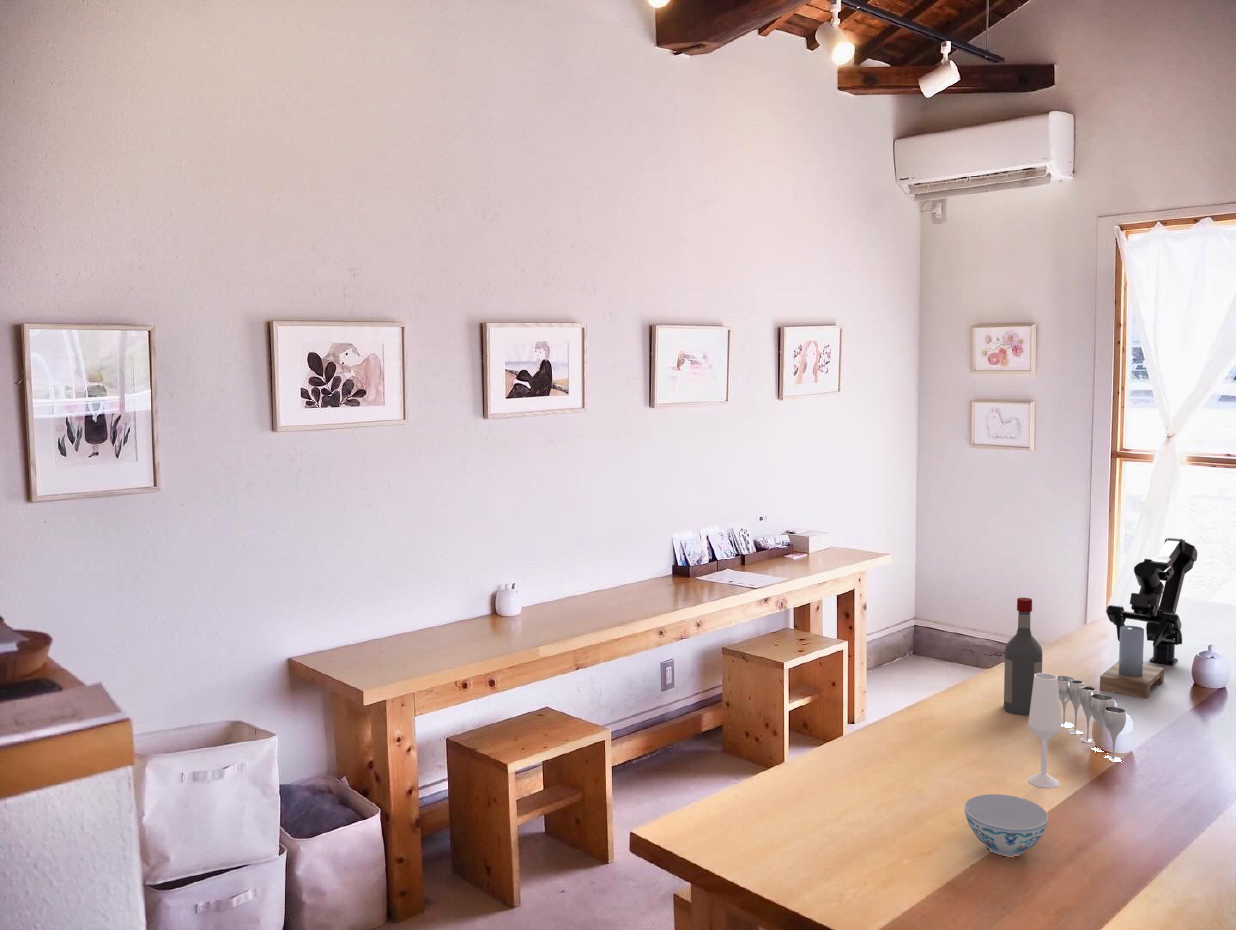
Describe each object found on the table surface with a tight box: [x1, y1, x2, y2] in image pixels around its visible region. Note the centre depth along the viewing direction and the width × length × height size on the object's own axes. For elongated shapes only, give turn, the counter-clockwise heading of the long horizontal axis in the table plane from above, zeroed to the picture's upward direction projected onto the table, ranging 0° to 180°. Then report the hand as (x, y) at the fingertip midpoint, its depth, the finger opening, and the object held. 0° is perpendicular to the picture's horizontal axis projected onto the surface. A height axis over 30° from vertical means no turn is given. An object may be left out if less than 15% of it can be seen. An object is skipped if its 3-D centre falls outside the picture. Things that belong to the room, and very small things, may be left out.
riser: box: [1099, 660, 1165, 699], centre depth 289 cm, size 18×12×4 cm, turn 139°
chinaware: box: [964, 793, 1049, 856], centre depth 196 cm, size 15×15×8 cm
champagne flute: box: [1027, 672, 1062, 789], centre depth 225 cm, size 7×7×24 cm
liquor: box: [1003, 597, 1043, 716], centre depth 270 cm, size 9×9×30 cm
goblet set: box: [1056, 675, 1127, 763], centre depth 249 cm, size 28×6×13 cm, turn 4°
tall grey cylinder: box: [1118, 625, 1145, 677], centre depth 286 cm, size 6×6×13 cm
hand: (1136, 643), depth 289 cm, fingers open, 9 cm apart
